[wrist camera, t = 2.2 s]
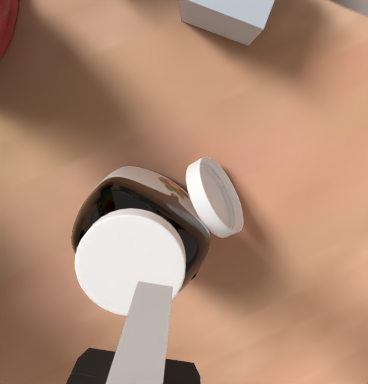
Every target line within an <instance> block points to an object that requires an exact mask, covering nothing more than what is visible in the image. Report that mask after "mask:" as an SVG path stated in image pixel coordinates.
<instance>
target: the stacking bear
mask: <svg viewBox="0 0 368 384" xmlns="http://www.w3.org/2000/svg"><path fill="white" fill-rule="evenodd" d="M17 11H18V0H0V58H1V57H2V55H3V53H4V52H5V50H6V48H7V46H8V44H9V42H10V39H11V36H12V34H13V30H14V27H15V23H16V18H17Z"/></svg>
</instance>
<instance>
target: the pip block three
mask: <svg viewBox="0 0 368 384" xmlns="http://www.w3.org/2000/svg"><path fill="white" fill-rule="evenodd" d="M274 1H275V0H179V3H180V14H181V21H183V22H186V23H189V24H191V25H194V26H196V27H199V28H202V29H204V30H207V31H210V32H212V33H215V34H217V35H220V36H223V37H225V38H228V39H231V40H233V41H236V42H239V43H241V44H244V45H246V46H249V45H250V44H251V43H252V42H253V40H254V39H255V38H256V37H257V36H258V35H259V34H260V33H261V32H262V31H263V29H264V27H265V24H266V22H267V19H268V16H269V14H270V11H271V9H272V6H273V3H274Z"/></svg>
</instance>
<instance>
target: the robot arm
mask: <svg viewBox="0 0 368 384" xmlns="http://www.w3.org/2000/svg"><path fill="white" fill-rule="evenodd" d="M172 293H173V287H172V286H166V285H159V284H153V283H147V282H141V281H138V283H137V286H136V289H135V292H134V296H133V299H132V302H131V305H130V308H129V311H128V315H127V318H126V321H125V324H124V327H123V331H122V334H121V337H120V340H119V343H118V346H117V350H116V352H113V351H106V350H100V349H93V348H89V349H88V350H86V351H85V352H84V353H83V354H82V355H81V356H80V357H79V358H78V359H77V361H76V364H75V366H74V368H73V370H72V373H71V374H70V377H69V379H68V381H67V383H66V384H200V375H199V373H198V371H197V369H196V367H195V365H194V363H190V362H184V361H177V360H171V359H166V350H167V340H168V331H169V321H170V312H171V302H172Z"/></svg>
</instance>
